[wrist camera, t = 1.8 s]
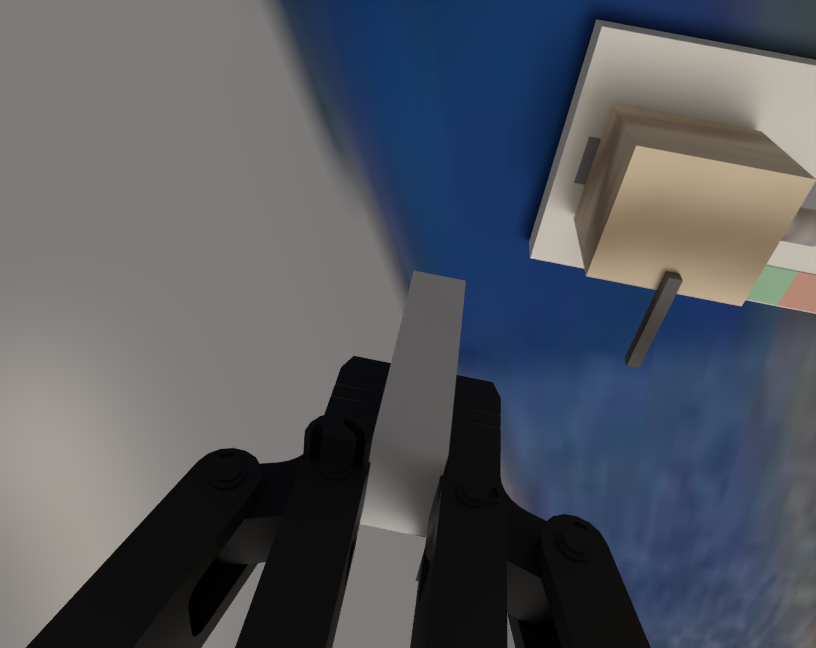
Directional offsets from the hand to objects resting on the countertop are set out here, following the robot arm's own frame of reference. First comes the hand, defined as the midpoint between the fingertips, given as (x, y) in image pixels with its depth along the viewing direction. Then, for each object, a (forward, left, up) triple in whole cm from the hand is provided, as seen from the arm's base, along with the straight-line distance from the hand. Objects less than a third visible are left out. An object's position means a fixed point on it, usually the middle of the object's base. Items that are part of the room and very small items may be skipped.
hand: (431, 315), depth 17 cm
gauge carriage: (+2, +12, -15) cm, 19 cm away
